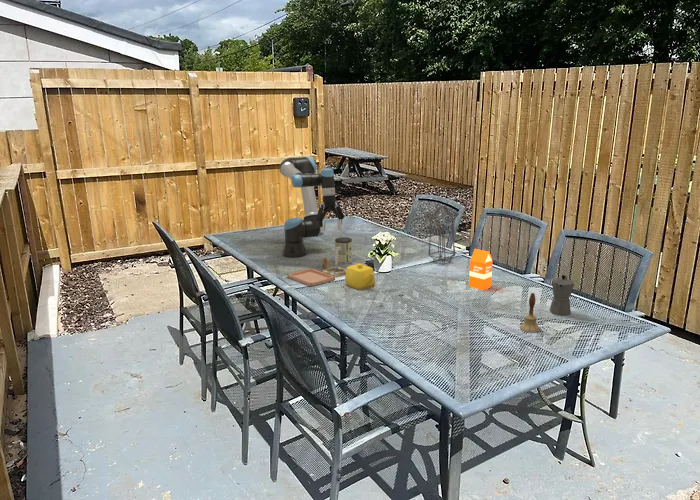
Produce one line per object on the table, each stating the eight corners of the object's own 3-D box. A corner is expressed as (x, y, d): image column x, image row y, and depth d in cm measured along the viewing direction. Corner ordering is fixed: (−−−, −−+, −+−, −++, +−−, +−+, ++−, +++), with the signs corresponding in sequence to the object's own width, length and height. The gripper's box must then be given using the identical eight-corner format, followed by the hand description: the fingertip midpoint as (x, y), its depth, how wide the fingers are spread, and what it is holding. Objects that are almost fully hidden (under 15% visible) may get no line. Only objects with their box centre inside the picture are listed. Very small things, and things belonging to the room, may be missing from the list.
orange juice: (476, 283, 288) (478, 247, 282) (491, 286, 281) (493, 250, 276) (468, 286, 282) (470, 250, 277) (483, 290, 276) (485, 253, 271)
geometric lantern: (443, 267, 316) (444, 209, 307) (423, 262, 328) (423, 206, 319) (460, 261, 326) (461, 205, 317) (439, 257, 338) (440, 202, 329)
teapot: (381, 288, 281) (382, 266, 278) (363, 293, 274) (363, 271, 271) (358, 278, 297) (358, 258, 293) (340, 283, 290) (340, 262, 286)
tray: (287, 277, 299) (287, 274, 299) (311, 271, 310) (311, 268, 309) (310, 286, 283) (310, 283, 283) (334, 280, 294) (334, 276, 294)
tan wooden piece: (315, 270, 311) (315, 259, 309) (331, 266, 318) (331, 255, 317) (334, 277, 298) (334, 265, 297) (350, 273, 306) (350, 261, 304)
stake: (330, 273, 306) (330, 247, 302) (338, 271, 309) (337, 246, 305) (335, 275, 303) (334, 249, 299) (342, 273, 306) (342, 247, 302)
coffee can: (336, 258, 335) (336, 237, 331) (352, 259, 334) (352, 237, 330) (334, 263, 325) (334, 241, 322) (351, 263, 324) (351, 241, 321)
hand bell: (516, 325, 232) (519, 290, 228) (535, 324, 233) (538, 290, 229) (524, 333, 224) (527, 297, 220) (543, 332, 225) (546, 296, 221)
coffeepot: (568, 319, 238) (573, 280, 234) (546, 315, 243) (550, 277, 238) (573, 307, 252) (577, 271, 247) (552, 304, 256) (555, 268, 251)
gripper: (316, 196, 300) (319, 233, 302) (348, 193, 317) (351, 229, 319) (308, 196, 306) (311, 233, 308) (340, 194, 323) (342, 229, 325)
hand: (331, 231), depth 314 cm, fingers open, 13 cm apart
